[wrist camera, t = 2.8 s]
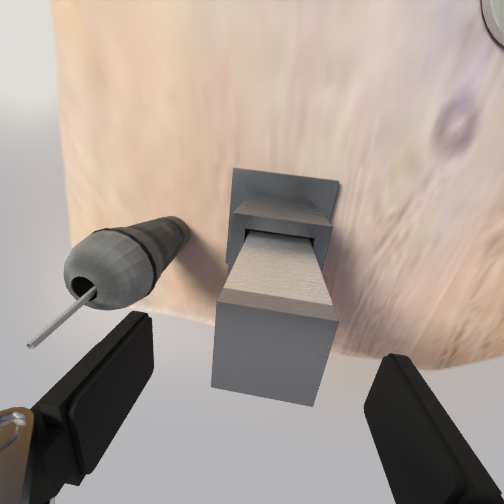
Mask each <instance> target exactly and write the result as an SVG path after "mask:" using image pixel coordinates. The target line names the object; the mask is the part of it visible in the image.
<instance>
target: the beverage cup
mask: <svg viewBox="0 0 504 504" xmlns="http://www.w3.org/2000/svg"><path fill="white" fill-rule="evenodd" d="M188 239H189V230H188V227H187V225H186V224H185V223H184V222H183V221H182V220H181V219H180V218H177V217H174V216H168V217H162V218H158V219H155V220H151V221H147V222H143V223H140V224H136V225H132V226H129V227H118V228H111V229H110V228H105V229H101V230H97V231H94V232H93V233H92V234H91V235H89V236H88V237H86V238H85V239H84V240H82V241H81V242H80V243H78V244H77V245H76V246H75V247H74V248H73V249H72V250H71V252H70V254H69V256H68V258H67V260H66V262H65V266H64V280H65V283H66V287H67V289H68V290H69V292H70V294H71V295H72V296H73V297H74V298H75V299H76V300H77V301H76V302H75V303H74V304H72V305H71V306H70V307H69V308H68V309H67V310H65V311H64V312H63V313H62V314H61V315H59V316H58V317H57V318H56V319H55V320H53V321H52V322H51V323H50V324H49V325H48V326H46V327H45V328H44V329H43V330H42V331H40V332H39V333H38V334H37V335H36V336H35V337H33V338H32V339H31V340H30V341H29V342H27V343H26V347H28V348H29V349H34V348H35V347H36V346H37V345H38V344H39V343H41V342H42V341H43V340H44V339H45V338H46V337H47V336H49V335H50V334H51V333H52V332H53V331H54V330H55V329H57V328H58V327H59V326H60V325H61V324H62V323H63V322H64V321H65V320H67V319H68V318H69V317H70V316H71V315H72V314H73V313H75V312H76V311H77V310H78V309H79V308H80V307H81V306H83V305H86V306H88V307H91V308H94V309H99V310H115V309H121V308H125V307H128V306H130V305H132V304H134V303H135V302H137V301H139V300H141V299H143V298H144V297H146V296H148V295H149V294H150V293H151V291H152V290H153V289H154V287H155V284H156V282H157V281H158V279H159V277H160V276H161V273H162V272H163V271H164V270H165V269H166V267H167V266H168V265H169V264H170V263H171V262H172V260H173V259H174V258H175V257H176V256H177V254H178V253H179V252H180V251H181V250H182V248H183V247H184V246H185V244H186V243H187V241H188Z"/></svg>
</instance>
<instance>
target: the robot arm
mask: <svg viewBox="0 0 504 504" xmlns="http://www.w3.org/2000/svg"><path fill="white" fill-rule="evenodd" d="M482 9H483V15H484V18H485V21H486V24H487V27H488V28H489V30H490V32H491V33H492V35H493V36H494V38H495V39H496V40H497V41H499V42H500V43H501V44H502V45H503V46H504V0H482ZM153 369H154V355H153V332H152V318H151V317H149V316H148V314H147V313H144V312H138V311H132V312H130V313H129V314H128V315H127V316H126V317H125V318H124V319H123V320H122V321H121V322H120V323H119V324H118V325H117V326H116V327H115V328H114V329H113V330H112V331H111V332H110V333H109V334H108V335H107V336H106V337H105V338H104V339H103V340H102V341H101V342H99V343H98V344H97V345H95V346H94V347H93V348H92V349H91V350H90V351H89V352H88V353H87V354H86V355H85V356H84V357H83V358H82V359H81V360H80V361H79V362H78V363H77V364H76V365H75V366H74V367H73V368H72V369H71V370H70V371H69V372H68V373H67V374H66V375H65V376H64V377H63V378H62V379H61V380H60V381H58V383H56V384H55V385H54V386H53V387H52V388H51V389H50V390H49V391H48V393H46V394H45V395H44V396H43V397H42V398H41V399H40V400H39V401H38V402H37V403H36V404H35V405H34V406H33V407H32V408H31V409H28V408H25V407H13V408H9V409H5V410H2V411H0V504H54V503H55V496H56V495H57V494H58V493H59V491H60V490H61V488H62V486H63V485H64V484H65V483H67V484H71V485H76V486H79V485H80V483H81V482H82V480H83V479H84V477H85V475H86V474H90V473H92V471H93V470H94V469H95V467H96V466H97V464H98V463H99V461H100V459H101V458H102V456H103V454H104V453H105V451H106V449H107V448H108V446H109V445H110V443H111V441H112V439H113V438H114V436H115V435H116V433H117V431H118V430H119V428H120V426H121V425H122V423H123V422H124V420H125V418H126V417H127V415H128V413H129V412H130V410H131V408H132V407H133V405H134V403H135V402H136V400H137V398H138V396H139V395H140V394H141V392H142V390H143V389H144V387H145V385H146V384H147V382H148V380H149V379H150V377H151V375H152V373H153ZM364 413H365V417H366V420H367V423H368V425H369V428H370V431H371V434H372V437H373V439H374V443H375V445H376V448H377V451H378V454H379V457H380V460H381V462H382V465H383V468H384V471H385V474H386V477H387V480H388V482H389V485H390V488H391V491H392V494H393V497H394V500H395V502H396V504H504V500H503V498H502V497H501V494H502V492H501V491H500V490H499V488H498V487H497V485H496V484H495V482H494V481H493V479H492V478H491V476H490V475H489V474H488V472H487V471H486V469H485V468H484V466H483V465H482V463H481V462H480V460H479V459H478V457H477V456H476V455H475V454H474V452H473V450H472V449H471V447H470V446H469V444H468V443H467V441H466V440H465V439H464V437H463V436H462V434H461V433H460V431H459V430H458V428H457V427H456V425H455V424H454V423H453V421H452V420H451V418H450V417H449V415H448V414H447V412H446V411H445V409H444V408H443V406H442V405H441V404H440V402H439V401H438V399H437V398H436V396H435V395H434V393H433V392H432V391H431V389H430V388H429V386H428V385H427V383H426V382H425V380H424V379H423V378H422V376H421V374H420V373H419V372H418V370H417V369H416V367H415V366H414V364H413V363H412V361H411V360H410V359H409V357H407V356H404V355H398V354H392V353H390V354H388V356H387V357H386V356H385V357H384V358H383V359H382V362H381V364H380V367H379V369H378V372H377V374H376V377H375V379H374V382H373V384H372V386H371V389H370V391H369V394H368V397H367V399H366V401H365V404H364Z"/></svg>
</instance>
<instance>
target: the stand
mask: <svg viewBox="0 0 504 504" xmlns="http://www.w3.org/2000/svg"><path fill="white" fill-rule="evenodd" d="M338 185H339V181H337V180H329V179H321V178H312V177H304V176H296V175H288V174H280V173H272V172H264V171H256V170H248V169H240V168H233V177H232V190H231V203H230V215H229V228H228V241H227V254H226V263H229V264H228V276H229V274H230V272H231V270H232V268H233V266H234V264H235V261H236V259H237V257H238V255H239V253H240V251H241V249H242V247H243V244H244V242H245V240H246V238H247V236H248V234H249V232H250V230H251V229H254V230H261V231H268V232H275V233H282V234H289V235H296V236H303V237H309V240H310V243H311V246H312V248H313V251H314V254H315V257H316V259H317V262H318V265H319V268H320V270H321V272H322V268H323V264H324V260H325V256H326V252H327V248H328V244H329V240H330V236H331V232H332V228H333V226H332V225H331V224H330V218H331V214H332V209H333V205H334V201H335V197H336V193H337V189H338ZM228 276H227V278H228Z"/></svg>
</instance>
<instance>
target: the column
mask: <svg viewBox="0 0 504 504" xmlns="http://www.w3.org/2000/svg"><path fill="white" fill-rule="evenodd" d="M338 324H339V320H338V317H337V314H336V312H335V309H334V306H333V303H332V301H331V298H330V295H329V292H328V290H327V287H326V284H325V281H324V279H323V276H322V273H321V270H320V268H319V265H318V262H317V259H316V257H315V254H314V251H313V248H312V246H311V243H310V240H309V237H303V236H296V235H289V234H282V233H275V232H268V231H261V230H254V229H251V230H250V232H249V234H248V236H247V238H246V240H245V242H244V244H243V247H242V249H241V251H240V253H239V255H238V257H237V259H236V261H235V264H234V266H233V268H232V270H231V272H230V274H229V276H228V278H227V281H226V283H225V285H224V287H223V289H222V291H221V293H220V295H219V298H218V300H217V305H216V320H215V336H214V350H213V365H212V380H211V387H213V388H218V389H223V390H228V391H233V392H239V393H244V394H249V395H255V396H259V397H265V398H270V399H275V400H280V401H285V402H290V403H296V404H301V405H306V406H311V407H313V405H314V401H315V398H316V395H317V392H318V389H319V386H320V382H321V379H322V375H323V372H324V369H325V366H326V363H327V359H328V356H329V353H330V350H331V346H332V343H333V340H334V337H335V333H336V330H337V327H338Z"/></svg>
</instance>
